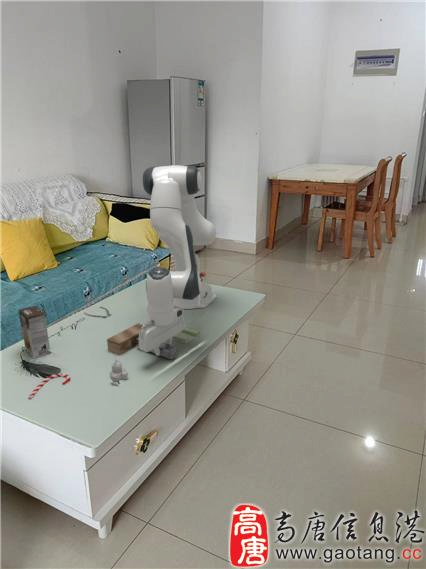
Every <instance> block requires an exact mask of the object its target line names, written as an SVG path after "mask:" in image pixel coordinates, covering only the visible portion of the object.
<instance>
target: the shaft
mask: <svg viewBox="0 0 426 569" xmlns="http://www.w3.org/2000/svg"><path fill="white" fill-rule="evenodd" d="M136 343H137V346H136V347H137V348H139V337H138V338H137V339H136ZM158 348H159V349H161V350H162V354H161V355H160V357H163V358H166V359H169V360H173V359H174V358H175V357H177V356H178V351H177V350H178V347H177V346H174V345H171V344H170V345H169V344H166V342H163V343H162V344H160V347H158ZM149 352H150V353H154V354H155V350H154V349H152V350H150V351H149Z"/></svg>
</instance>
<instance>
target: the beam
mask: <svg viewBox="0 0 426 569" xmlns="http://www.w3.org/2000/svg"><path fill="white" fill-rule="evenodd" d="M143 325H144V324H142V323H140V322H139V323H136V324H134V325H132V326H129V327H128V328H126V329H124V330H122V331H121V332H118V333H117V334H115V335H114V334H113V336H110V337H108V338H107V339H106V343H107V344H106V345H107V351H109V352H111V353H113V354H116V355H118V356H122V355H123V354H125V353H127V352H128V351H130V350H132V349H133V348H136V347H137V343H136V339H137V338H138V337H139V333H140V330H141V328H142V326H143Z"/></svg>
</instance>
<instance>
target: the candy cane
mask: <svg viewBox="0 0 426 569" xmlns="http://www.w3.org/2000/svg"><path fill="white" fill-rule="evenodd" d="M55 378H56V379H57V378H65V379H66V380H65V381H63V382H62V383H61V384H62V385H63V386H66V385H67V384H68V383H70V381H71V376H70V375H69V374H68V373H56V374H52V375H49V376H47V377H46V378H44V379H42V381H41V382H40V383H39V384H38V385H37V386H36V387H35V388H34V389H33V390H32V392H31V393H30V394H29V396H28V400H32V398H33V399H34V397H35V396H36V395H37V393H38V392H39V391H40V390H41V389H42V387H43V386H45V385H46V383H48V382H49V381H51V380H53V379H55ZM39 389H40V390H39ZM38 390H39V391H38ZM37 391H38V392H37ZM35 394H36V395H35ZM34 395H35V396H34Z"/></svg>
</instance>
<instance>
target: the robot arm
mask: <svg viewBox="0 0 426 569" xmlns="http://www.w3.org/2000/svg"><path fill="white" fill-rule="evenodd" d="M202 182H203V178H202V174H201V172H200V170H199V169H198V167H197V166H194V165H179V164H178V165H177V164H176V165H175V164H173V165H163V166H157V167H156V166H151V167H148V168H146V169H145V170H144V171H143V174H142V180H141V183H142V186H143V190H144V192H145V193H146V194H147V195H148V196H150V203H149V204H150V205H149V206H150V208H149V217H150V218H149V219H150V225H151V226H152V229H153V230H154V231H155V232H156V233H157V236H158V238H159V240H160V241H161V242H162V243H163V244H165V246H166V247H168V249H169V251H170V252H171V254H172V257H173V260H174V268H175V270H169V269H168V268H166V267H155V268H151V270H149V271H148V272H147V276H146V282H145V292H146V298H147V302H148V303H147V321H148V322H146V323H144V324H142V325H143V326H142V328H141V330H140V333H139V347H138V348H139V350H141V351H143V352H146V353H149V352H150V350H152V349H154V350H155V353H154V354H155V355H156V356H158V357H160V356H161V354H162V350H161V349H159V348H158V347H160V344H162V343H166V344H169V345H171V344H172V341H173V339H172V337H173V336H175V335H177V334H178V333H180V332H182V331H183V329H184V327H185V317H184V314H185V313H184V312H185V310H193V309H205V308H206V307H207V306H208V305H210V304H211V303H212V302H213V301H214V300H215V299H217V294H216V293H214V292H213V291H212V286H211V285H210V284H209V283H208V282H206V281H205V280H203V278H206V274H207V273H206V272H203V271H201V263H200V262H201V260H200V257H199V255H198V254H197V253H196V250H195V246H207V245H211V244H212V243H214V240H215V239H216V237H217V231H216V227H215V225H214V224H213V222H212V221H210V220H208V219H206V218H205V217H204V216H203V215H202V214H201V213H200V211H199V210H198V207H197V205H196V204H197V203H196V198H195V195H196V194H198V192H200V190H201V188H202V187H201V186H202ZM184 309H185V310H184Z"/></svg>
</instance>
